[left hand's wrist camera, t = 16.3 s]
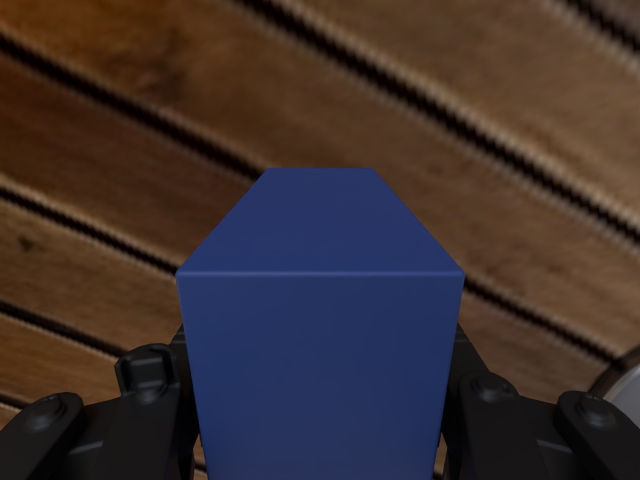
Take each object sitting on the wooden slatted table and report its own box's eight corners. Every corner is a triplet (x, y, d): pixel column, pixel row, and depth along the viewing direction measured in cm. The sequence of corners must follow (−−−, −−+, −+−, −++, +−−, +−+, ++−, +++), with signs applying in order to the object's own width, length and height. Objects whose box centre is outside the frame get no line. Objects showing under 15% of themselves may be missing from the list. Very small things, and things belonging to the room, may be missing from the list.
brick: (267, 167, 15) (172, 272, 6) (373, 167, 15) (467, 272, 6) (276, 335, 19) (225, 595, 9) (364, 335, 19) (414, 596, 9)
